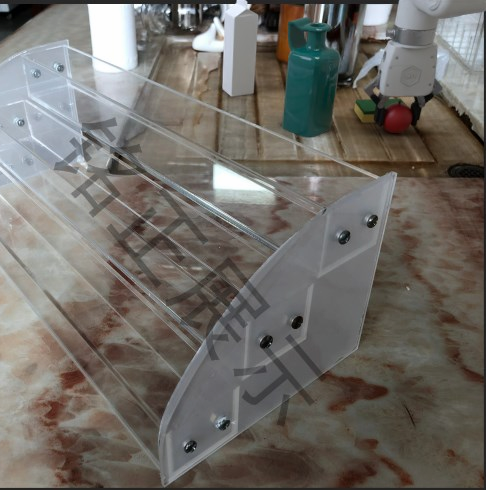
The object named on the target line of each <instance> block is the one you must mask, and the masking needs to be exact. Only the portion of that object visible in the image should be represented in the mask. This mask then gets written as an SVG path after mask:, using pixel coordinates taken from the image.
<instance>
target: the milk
mask: <svg viewBox="0 0 486 490" xmlns="http://www.w3.org/2000/svg"><path fill="white" fill-rule="evenodd" d="M223 22H224V24H223V57H222V58H223V59H222V88H221V89H222V90H223V91H224V92H225V93H227V95H229V96H230V97H238V96H245V95H253V94H254V93H255V79H256V61H257V47H258V28H259V14H257V13H256V12H254V11H252V10H250V9H249V8H248V1H247V0H236V2H235V4H233V5H232V6H231V7H230V8H228V9H227V10H225V11H224V21H223Z"/></svg>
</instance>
